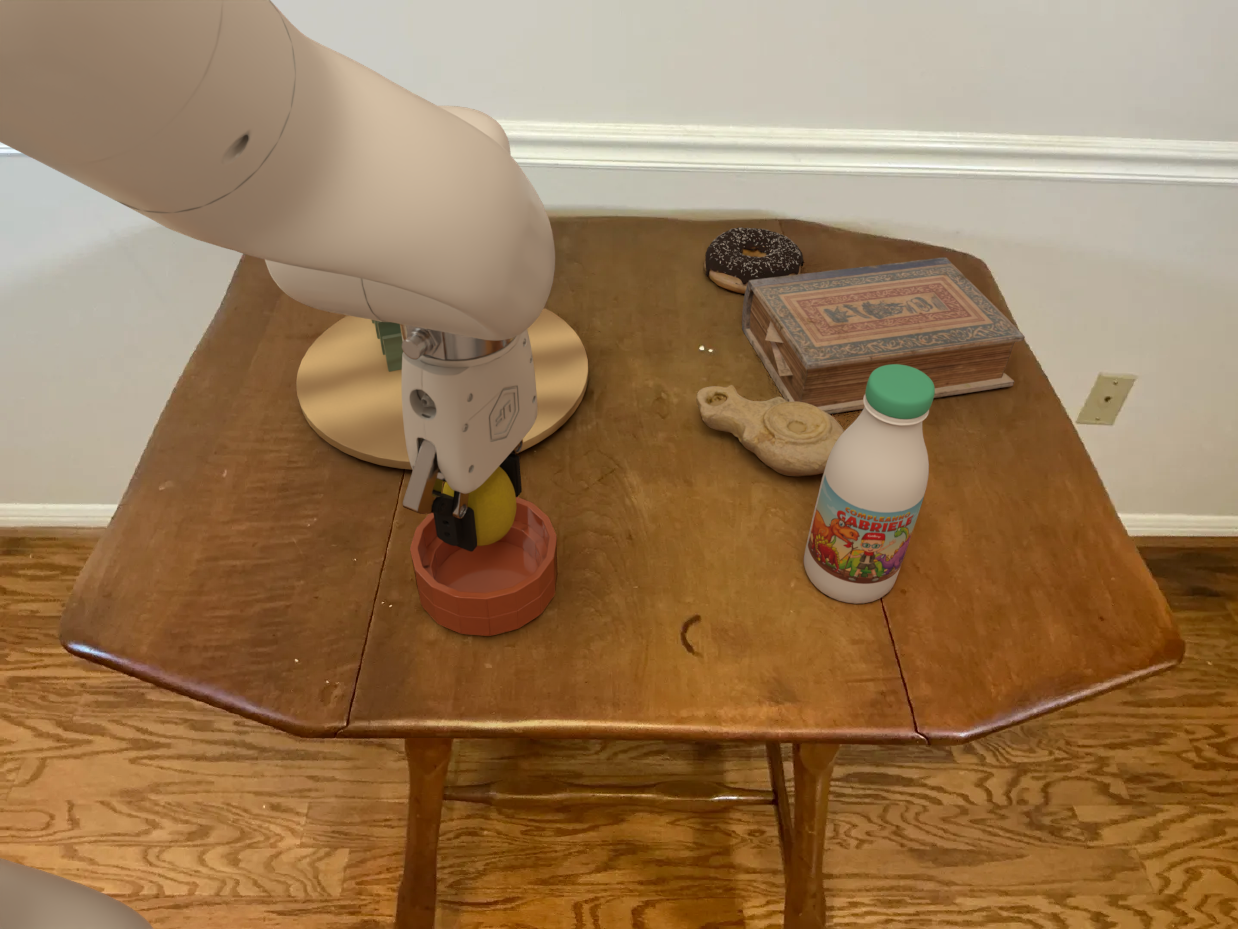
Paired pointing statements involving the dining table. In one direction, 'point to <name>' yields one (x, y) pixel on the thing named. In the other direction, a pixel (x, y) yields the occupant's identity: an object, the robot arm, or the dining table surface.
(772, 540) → the dining table surface
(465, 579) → the bowl
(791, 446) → the oil lamp
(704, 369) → the dining table surface
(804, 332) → the book
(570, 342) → the dish rack
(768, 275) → the donut
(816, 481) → the dining table surface
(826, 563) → the milk bottle
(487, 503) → the lemon
